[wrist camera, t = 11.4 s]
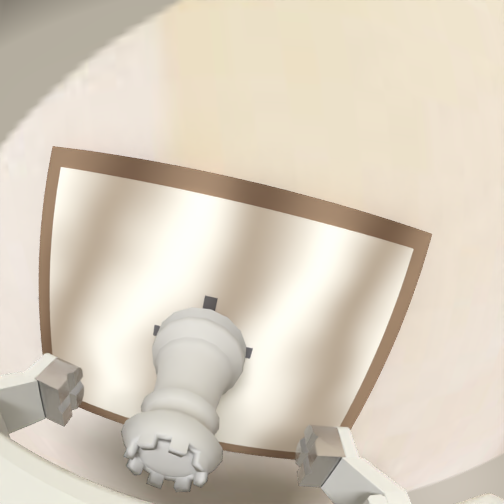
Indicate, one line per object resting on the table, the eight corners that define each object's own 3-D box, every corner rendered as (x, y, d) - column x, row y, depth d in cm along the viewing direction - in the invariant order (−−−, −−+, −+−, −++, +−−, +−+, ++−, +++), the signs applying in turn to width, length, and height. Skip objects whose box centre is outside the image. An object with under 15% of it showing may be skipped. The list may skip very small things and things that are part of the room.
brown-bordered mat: (422, 231, 15) (434, 234, 14) (328, 451, 18) (331, 463, 17) (62, 147, 14) (50, 145, 13) (54, 385, 17) (46, 395, 16)
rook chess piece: (149, 306, 14) (70, 410, 7) (240, 299, 14) (229, 418, 6) (169, 381, 15) (124, 498, 8) (251, 378, 15) (250, 507, 7)
